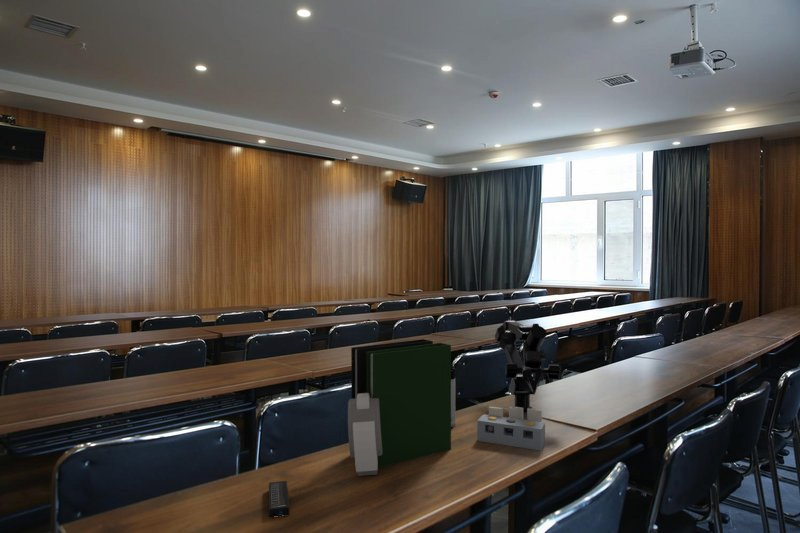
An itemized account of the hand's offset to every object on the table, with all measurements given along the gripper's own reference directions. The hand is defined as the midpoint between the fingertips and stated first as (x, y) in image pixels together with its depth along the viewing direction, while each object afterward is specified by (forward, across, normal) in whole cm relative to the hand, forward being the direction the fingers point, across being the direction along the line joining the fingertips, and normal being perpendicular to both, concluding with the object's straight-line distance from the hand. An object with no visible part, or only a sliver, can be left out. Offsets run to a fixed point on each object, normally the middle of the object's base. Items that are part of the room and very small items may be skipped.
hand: (534, 392), depth 171 cm
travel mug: (+10, -30, +8) cm, 33 cm away
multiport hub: (+55, -65, -36) cm, 92 cm away
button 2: (+14, -7, -1) cm, 16 cm away
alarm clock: (+38, -48, -21) cm, 65 cm away
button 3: (+15, -2, -2) cm, 15 cm away
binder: (+29, -42, -11) cm, 52 cm away
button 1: (+15, -14, -2) cm, 20 cm away
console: (+19, -8, -1) cm, 21 cm away
